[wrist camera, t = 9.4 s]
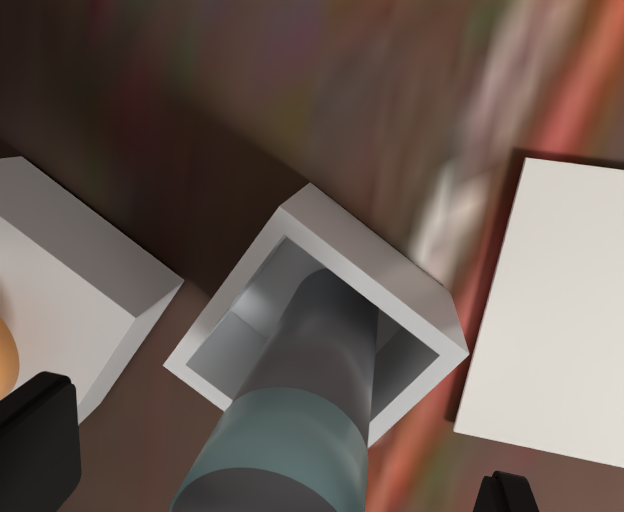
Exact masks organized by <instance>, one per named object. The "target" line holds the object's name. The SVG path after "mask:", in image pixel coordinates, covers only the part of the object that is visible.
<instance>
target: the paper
mask: <svg viewBox="0 0 624 512" xmlns="http://www.w3.org/2000/svg"><path fill="white" fill-rule="evenodd" d="M453 430H454V432H458V433H463V434H467V435H472V436H477V437H482V438H486V439H491V440H496V441H500V442H505V443H510V444H515V445H519V446H524V447H529V448H533V449H538V450H543V451H548V452H552V453H557V454H562V455H566V456H571V457H576V458H581V459H585V460H590V461H595V462H599V463H604V464H609V465H614V466H618V467H623V468H624V170H620V169H612V168H604V167H597V166H589V165H581V164H573V163H566V162H558V161H550V160H542V159H535V158H527V157H525V159H524V163H523V167H522V170H521V174H520V178H519V182H518V186H517V189H516V193H515V197H514V201H513V204H512V208H511V212H510V216H509V220H508V223H507V227H506V231H505V235H504V238H503V242H502V246H501V250H500V254H499V257H498V261H497V265H496V269H495V272H494V276H493V280H492V284H491V288H490V291H489V295H488V299H487V303H486V307H485V310H484V314H483V318H482V322H481V325H480V329H479V333H478V337H477V341H476V344H475V348H474V352H473V356H472V359H471V363H470V367H469V371H468V375H467V378H466V382H465V386H464V390H463V393H462V397H461V401H460V405H459V409H458V412H457V416H456V420H455V424H454V427H453Z"/></svg>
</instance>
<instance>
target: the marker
mask: <svg viewBox="0 0 624 512" xmlns="http://www.w3.org/2000/svg"><path fill="white" fill-rule="evenodd" d="M378 315H379V307H377V306H376V305H375V304H373V303H372V302H371V301H369V300H368V299H367V298H366V297H364V296H363V295H362V294H360V293H359V292H358V291H357V290H355V289H354V288H353V287H351V286H350V285H349V284H348V283H346V282H345V281H344V280H342V279H341V278H340V277H339V276H337V275H336V274H335V273H333V272H332V271H331V270H330V269H328V268H325V269H321V270H318V271H316V272H313V273H312V274H310V275H309V276H307V277H306V278H305V279H304V280H303V281H302V282H301V283H300V285H299V286H298V288H297V290H296V292H295V293H294V295H293V297H292V299H291V300H290V302H289V304H288V306H287V307H286V309H285V311H284V312H283V314H282V316H281V318H280V319H279V321H278V323H277V325H276V326H275V328H274V330H273V332H272V333H271V335H270V337H269V339H268V340H267V342H266V344H265V346H264V347H263V349H262V351H261V352H260V354H259V356H258V358H257V359H256V361H255V363H254V365H253V366H252V368H251V370H250V372H249V373H248V375H247V377H246V379H245V380H244V382H243V384H242V386H241V387H240V389H239V391H238V393H237V394H236V396H235V398H234V399H233V401H232V403H231V405H230V406H229V407H228V408H227V409H226V410H225V412H224V413H223V415H222V416H221V418H220V420H219V421H218V423H217V425H216V426H215V428H214V430H213V432H212V433H211V435H210V437H209V438H208V440H207V442H206V444H205V445H204V447H203V449H202V450H201V452H200V454H199V456H198V457H197V459H196V461H195V462H194V464H193V466H192V468H191V469H190V471H189V473H188V474H187V476H186V478H185V480H184V481H183V483H182V485H181V486H180V488H179V490H178V492H177V493H176V495H175V497H174V499H173V501H172V503H171V506H170V508H169V512H365V502H366V489H367V475H368V453H367V448H368V436H369V424H370V412H371V400H372V388H373V376H374V364H375V352H376V339H377V327H378Z"/></svg>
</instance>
